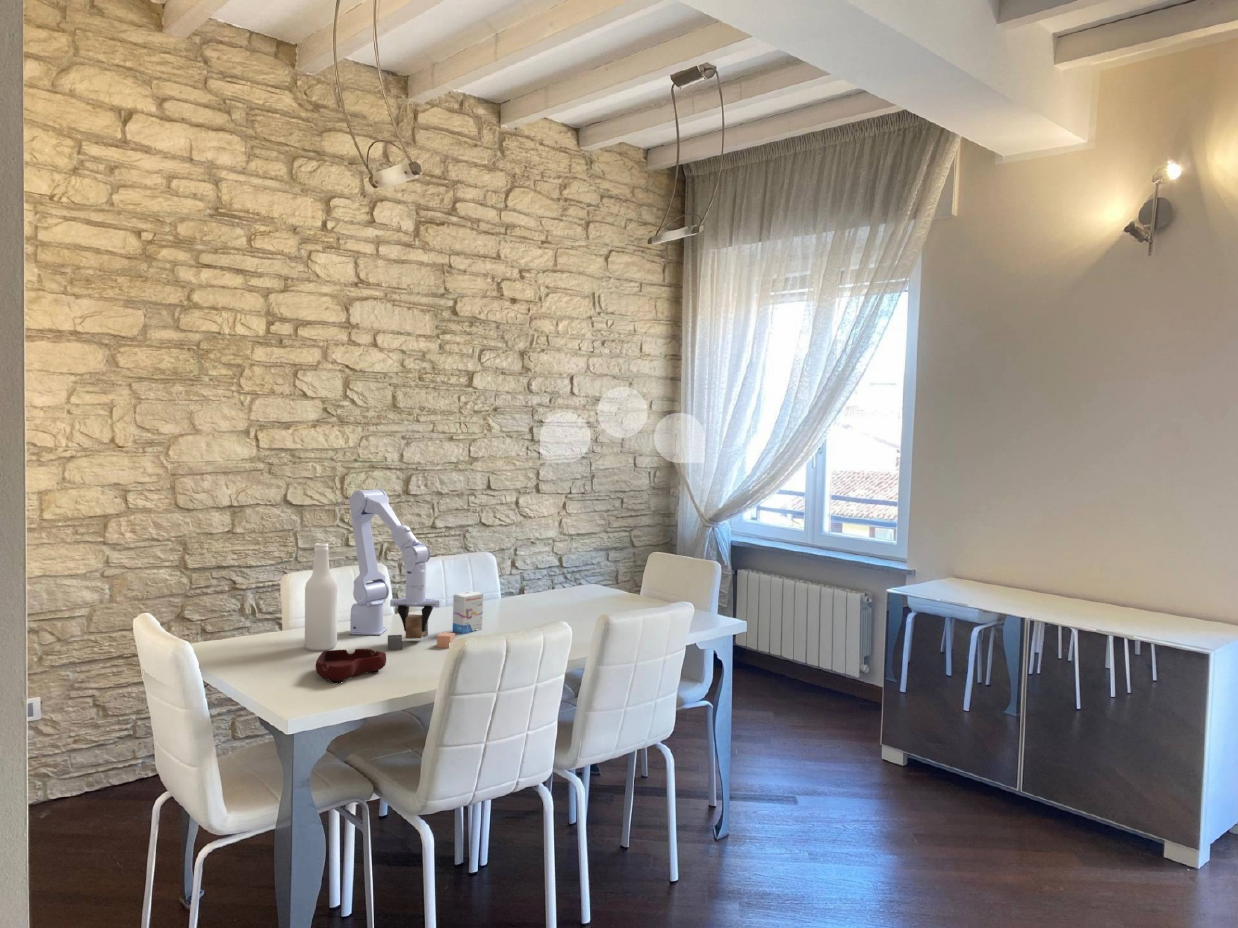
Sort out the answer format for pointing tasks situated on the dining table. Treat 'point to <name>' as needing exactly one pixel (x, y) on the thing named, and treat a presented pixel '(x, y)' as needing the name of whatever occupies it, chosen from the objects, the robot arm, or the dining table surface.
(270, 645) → the dining table surface
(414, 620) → the walnut block
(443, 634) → the terracotta block
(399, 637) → the charcoal rubber block
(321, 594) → the white bottle
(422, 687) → the dining table surface
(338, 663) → the ashtray
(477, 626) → the ink box
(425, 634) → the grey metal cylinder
